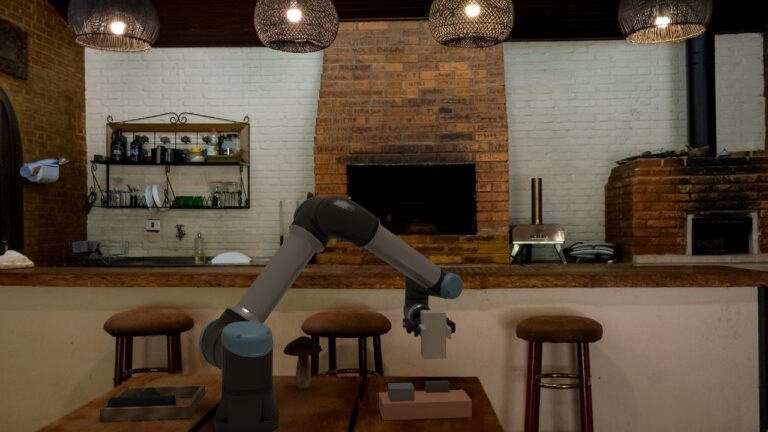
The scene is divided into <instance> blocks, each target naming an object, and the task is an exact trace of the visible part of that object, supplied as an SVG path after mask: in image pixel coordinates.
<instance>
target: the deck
mask: <svg viewBox="0 0 768 432" xmlns="http://www.w3.org/2000/svg"><path fill="white" fill-rule="evenodd" d="M424 385H425V387H424V388H425V389H424V390H419V391H418V390H415V387H414V384H413V383H412V382H393V383H391V382H390V383H387V391H386V392H383V391H382V392H378V409H379V413H380V415H381V419H382V421H401V420H402V421H403V420H430V419H455V418H456V419H457V418H461V419H462V418H472V417H473V400H472V399H471V398H470V396H469V395H468V393H466V391H465V390H464V389H453V390H451V389H450V382H449V380H432V381H431V380H429V381H427V380H426V381H424Z"/></svg>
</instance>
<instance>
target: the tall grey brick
mask: <svg viewBox="0 0 768 432" xmlns="http://www.w3.org/2000/svg"><path fill="white" fill-rule="evenodd" d="M446 317H447V312H446V311H445V310H444V309H431V310H421V325H422V326H423V327H424V328H425V329H426V340H423V339H422V338H421V337H420V355H421V357H422V358H423V359H424V360H435V359H436V360H441V359H442V360H443V359H444V360H445V359H447V337H446Z"/></svg>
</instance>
